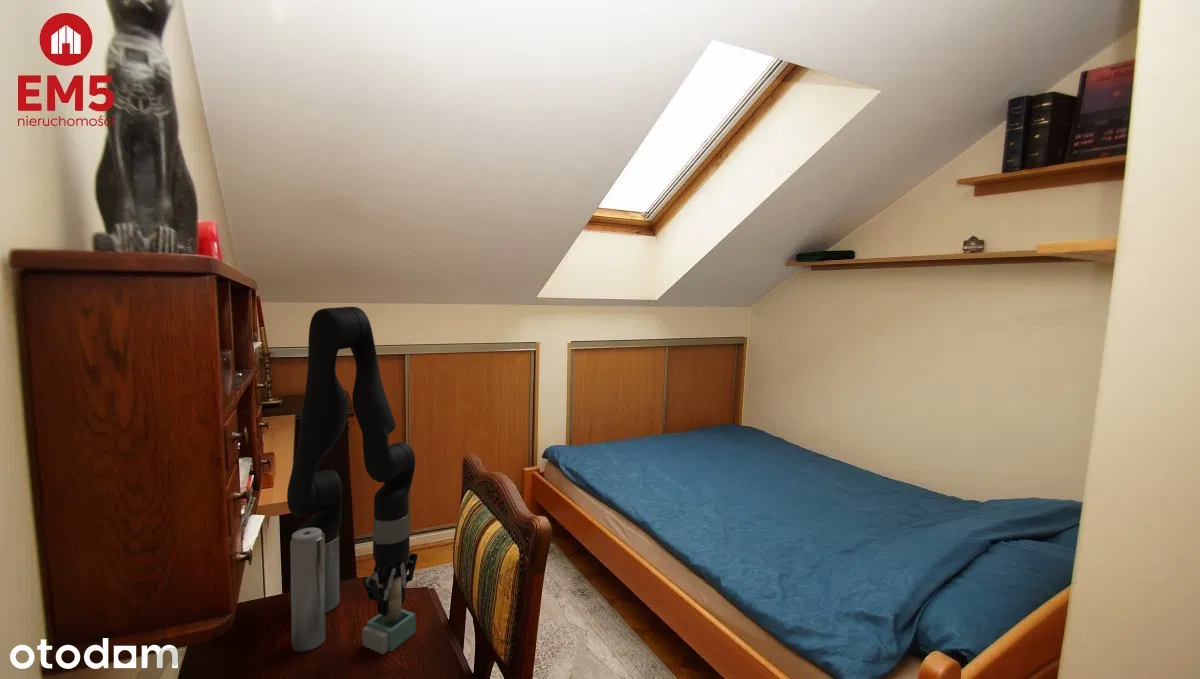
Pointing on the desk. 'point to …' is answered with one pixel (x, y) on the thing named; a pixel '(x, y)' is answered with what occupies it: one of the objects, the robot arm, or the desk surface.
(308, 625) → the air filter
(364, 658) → the desk surface
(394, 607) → the dowel
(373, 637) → the grey flat slab
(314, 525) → the robot arm
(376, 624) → the grey-green open box
